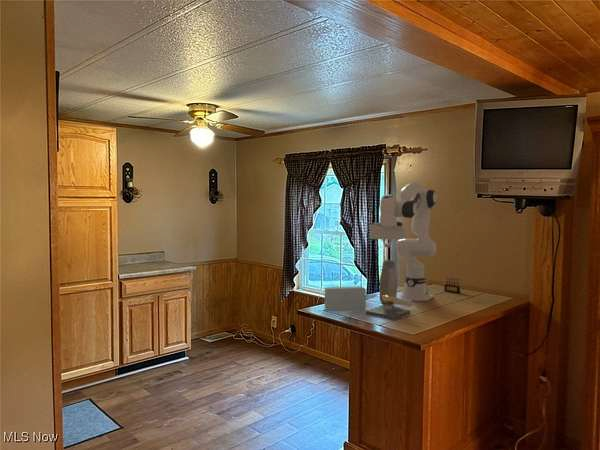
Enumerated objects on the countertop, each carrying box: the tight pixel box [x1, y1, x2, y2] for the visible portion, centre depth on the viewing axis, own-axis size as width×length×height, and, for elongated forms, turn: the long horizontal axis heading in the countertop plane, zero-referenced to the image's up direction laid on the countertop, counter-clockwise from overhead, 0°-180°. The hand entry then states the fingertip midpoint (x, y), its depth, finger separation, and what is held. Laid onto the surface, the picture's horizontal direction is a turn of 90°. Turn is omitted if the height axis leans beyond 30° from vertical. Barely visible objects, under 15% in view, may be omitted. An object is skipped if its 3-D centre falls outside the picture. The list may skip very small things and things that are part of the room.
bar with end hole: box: [324, 285, 367, 312], centre depth 259 cm, size 23×6×13 cm, turn 101°
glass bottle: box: [379, 259, 398, 306], centre depth 270 cm, size 10×10×28 cm
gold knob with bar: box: [381, 295, 413, 307], centre depth 247 cm, size 18×9×4 cm, turn 48°
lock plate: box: [365, 304, 411, 321], centre depth 251 cm, size 18×18×6 cm
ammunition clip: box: [443, 274, 461, 294], centre depth 312 cm, size 11×2×12 cm, turn 52°
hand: (387, 247), depth 257 cm, fingers closed
